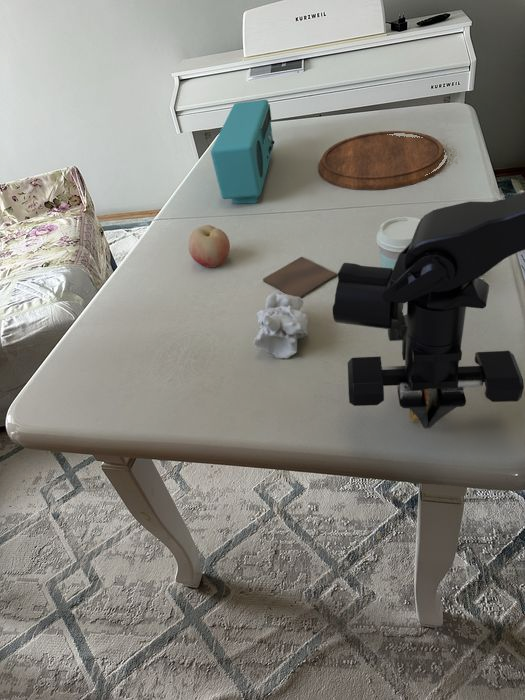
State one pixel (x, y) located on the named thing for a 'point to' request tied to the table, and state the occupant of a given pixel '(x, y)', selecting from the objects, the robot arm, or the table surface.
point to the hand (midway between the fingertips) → (426, 425)
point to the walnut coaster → (299, 277)
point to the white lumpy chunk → (281, 325)
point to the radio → (243, 151)
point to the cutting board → (381, 161)
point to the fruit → (209, 246)
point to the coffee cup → (395, 238)
